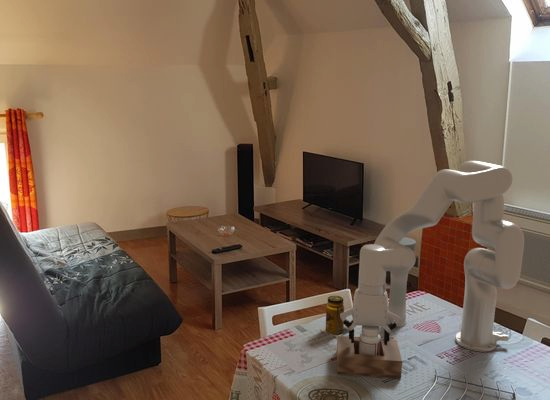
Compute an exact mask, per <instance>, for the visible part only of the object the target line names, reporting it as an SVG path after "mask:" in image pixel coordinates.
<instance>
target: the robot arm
mask: <svg viewBox="0 0 550 400" xmlns="http://www.w3.org/2000/svg"><path fill="white" fill-rule="evenodd" d="M512 182H513V175H512V173H511V170H509V169H508V168H507V167H505V166H504V165H501V164H500V165H499V164H495V163H494V164H493V163H489V162H485V161H479V160H467V161H464V162H462V163H461V164H460V165H459V168H458V170H455V169H450V168H449V169H446V168H445V169H441V170H438V171H437V172H436V173H435V175H434V176H433V177H432V178H431V180H430V181H429V183H428V184H427V185H426V186H425V188H424V190H423V191H422V192H421V193H420V195H419V197H418V198H417V199H416V201H415V202H414V204H413V205H412V207H410V208H409V209H407V210H405V211H404V212H402V213H401V214H399V215H397V216H396V217H394V218H393V219H391V220H390V221H389V222H388V223H387V224H386V225H385V226H384V227H383V229H382V230H381V231H380V233H379V234H378V236H377V237H376V239H375V241H374V243H373V244H372V243H371V244H365V245H363V246H362V247H361V248H360V250H359V267H358V284H357V285H358V286H357V287H358V288H356V289H355V291H354V296H353V302H352V308H351V309H348V310H344V312H343V313H341V314H340V317H341V319H342V321H343V323H344V325H345V326H344V327H347V328H348V329H349V332H348V337H349V339H351V343H354V337H355V328H356V327H357V326H361V327H362V326H379V327H383V339H384V345H387V341H389V339H391V338H390V335H391V333H392V331H393V330H394V329H396V328H397V327H396V326H397V324H398V323H399V321H400V317H399V316H398V315H396V314H394V313H392V312H390V311H388V304H389V298H388V291H387V290H390V285H391V284H388V283H387V282H386V278H387V272H390V271H395V272H403V271H407V270H409V271H410V270H411V269H413V267H414V265H415V264H416V261H417V260H416V259H417V258H416V257H417V256H416V254H415V251H412V250H411V249H410V248H408V247H407V246H404V245H402V244H401V243H399V242H400V241H401V240H402V238H403V237H406V235H408V234H409V233H411V232H414V231H416V230H420V229H424V228H425V229H426V228H430V227H434V226H436V225H437V224H438V223H439V222H440V220H441V219H442V217H443V216H444V214H445V213H446V211H447V210H448V208H449V207H450V206H451V204H453V202H456V203H457V202H458V203H461V204H473V203H474V204H473V217H472V227H471V228H472V229H471V237H472V240H473V241H474V242H475V243H476V244H478V245H480V246H483V247H484V248H483V247H475V248H472V249H470V250H469V251H468V252H467V253H466V255H465V257H464V260H463V270H464V271H463V272H464V277H465V280H464V281H465V282H464V285H465V286H464V297H463V306H462V315H461V317H462V318H461V327H460V331H458V332H457V333H456V334H455V337H454V338H455V341H456V343H457V344H458V345H459V346H461V347H462V348H465V349H467V350H471V351H474V352H482V353H484V352H492V351H494V350H496V349H497V345H498V343H497V342H498V341H503V342H509V335H508V334H502V332H501V331H494V325H495V324H494V323H495V314H496V313H495V312H496V305H497V296H498V294H497V293H498V291H497V288H498V289H500V290H509V289H512V288H513V287H515V286H516V284H518V281H519V280H520V277H521V273H522V265H523V258H524V250H525V235H524V232H523V230H522V229H521V227H520V226H519V225H518V224H516V223H514V222H511V221H508V220H505V218H504V217H505V216H504V211H505V210H504V209H505V198H504V194H505V193H507V191H508V190H509V189H510V188H511V186H512ZM487 248H488V249H487ZM492 250H493V251H492ZM350 316H352V319H351V320H350V321H349V320H348V319H347V317H350ZM388 316H389V317H390V318H392V319H394V321H393V322H392V323H390V324H388Z"/></svg>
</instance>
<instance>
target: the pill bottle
mask: <svg viewBox="0 0 550 400" xmlns="http://www.w3.org/2000/svg"><path fill="white" fill-rule="evenodd" d="M359 337H360V341H359V354H361V355H377V356H380V345H381V339H382V337H381V335H380V326H362V325H361V333H360V334H359Z"/></svg>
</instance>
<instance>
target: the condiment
mask: <svg viewBox="0 0 550 400" xmlns="http://www.w3.org/2000/svg"><path fill="white" fill-rule="evenodd" d="M344 301H345V299H344V297H342V296H340V295H330V296H328V297H327V304H326V308H325V312H326V313H325V327H324V328H323V329H320V332H323V333H325V334H327V335H330V336H332V337H334V338H337V336H344V335H346V334H347V333H349V329H348V328H347V327H346V326H344V323H343V321H342V319H341V317H340V314H341V313H343V312H345V305H344Z"/></svg>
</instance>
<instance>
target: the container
mask: <svg viewBox="0 0 550 400" xmlns="http://www.w3.org/2000/svg"><path fill="white" fill-rule="evenodd" d="M399 243H401V244H402V245H404V246H407V247H408V248H410V249H411V250H412V251H413V252H415V248H416V246H417V241H416V240H415V239H414V238H410V237H406V236H404V237H403V238H402V240H401V241H400V242H399ZM389 272H390V284H389V285H390V289H389V298H388V311H390V312H392V313H394V314H396V315H398V316H399V317H400V321H399V323H398V324H397V326H396V327H395V328H399V327H405V326H406V325H407V319H406V318H407V285H408V284H407V282H408V277H409V272H410V269H409V270H407V271H403V272H395V271H389ZM393 321H394V319H392V318H390V317H389V316H388V324H390V323H392V322H393Z"/></svg>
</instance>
